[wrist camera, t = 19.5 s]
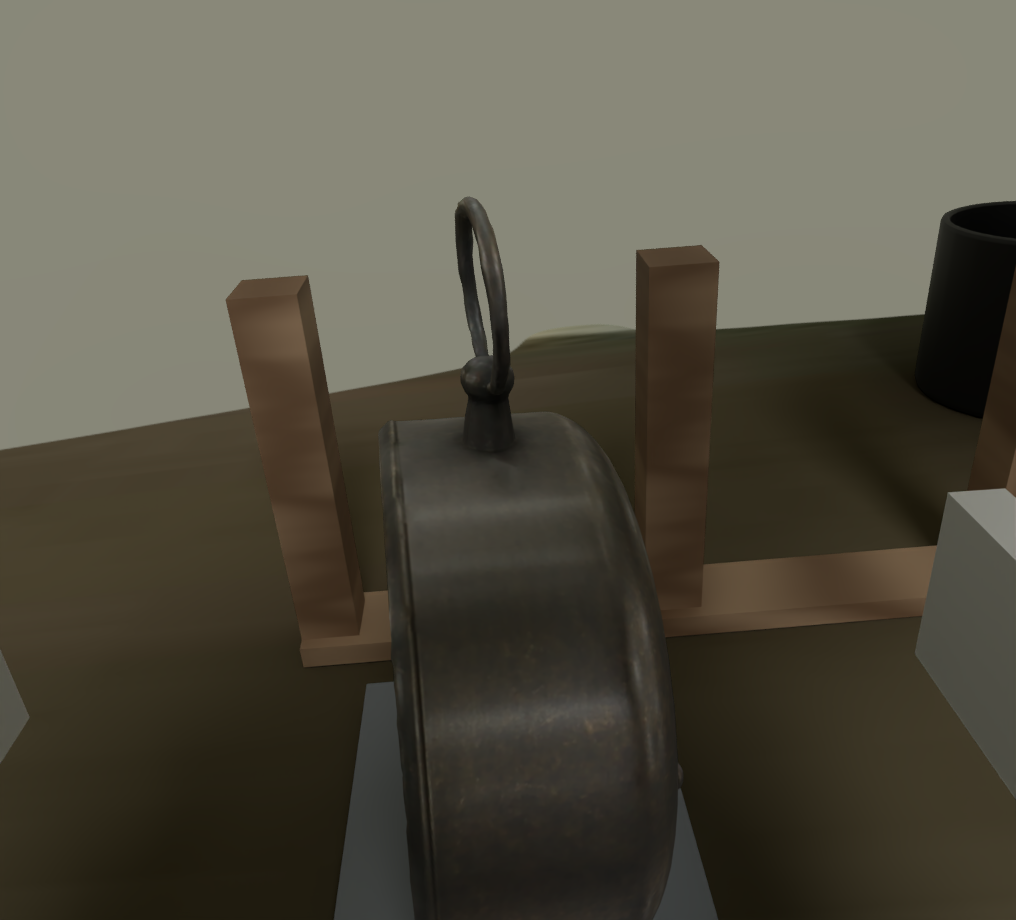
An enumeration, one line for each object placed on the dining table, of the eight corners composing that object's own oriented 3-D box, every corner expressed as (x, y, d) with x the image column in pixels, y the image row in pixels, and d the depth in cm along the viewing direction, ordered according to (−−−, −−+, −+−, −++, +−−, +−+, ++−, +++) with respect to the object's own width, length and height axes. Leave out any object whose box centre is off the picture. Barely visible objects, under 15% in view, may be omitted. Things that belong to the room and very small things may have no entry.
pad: (643, 679, 28) (644, 660, 28) (811, 1281, 15) (815, 1260, 14) (370, 702, 28) (366, 683, 27) (287, 1330, 14) (278, 1310, 14)
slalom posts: (995, 557, 33) (1079, 212, 27) (1042, 605, 30) (1148, 233, 24) (316, 613, 32) (245, 275, 26) (303, 667, 30) (221, 305, 23)
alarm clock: (409, 727, 26) (319, 164, 18) (584, 699, 26) (568, 142, 19) (437, 1152, 16) (271, 325, 8) (713, 1093, 17) (789, 270, 9)
